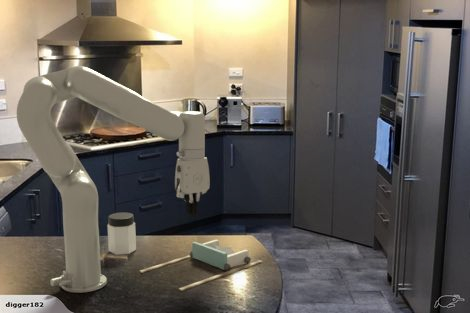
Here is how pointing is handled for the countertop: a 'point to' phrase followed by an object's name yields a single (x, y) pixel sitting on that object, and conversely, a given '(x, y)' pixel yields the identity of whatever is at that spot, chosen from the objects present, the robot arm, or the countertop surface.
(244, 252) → the green frame
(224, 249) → the grey rock
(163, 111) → the robot arm
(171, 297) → the countertop surface
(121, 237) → the jar
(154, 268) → the track
